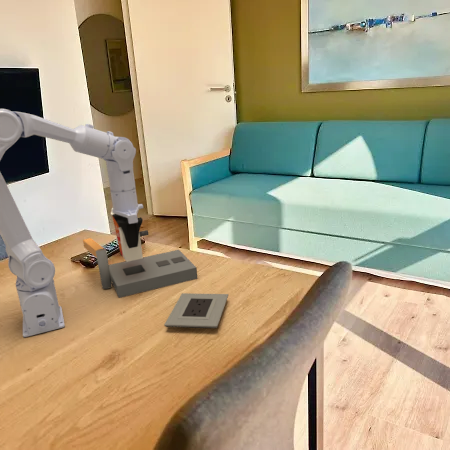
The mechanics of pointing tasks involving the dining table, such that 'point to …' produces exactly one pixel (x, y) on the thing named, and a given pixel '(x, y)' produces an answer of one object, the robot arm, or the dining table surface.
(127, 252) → the plug
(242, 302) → the dining table surface
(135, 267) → the power block
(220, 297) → the electrical outlet
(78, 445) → the dining table surface
